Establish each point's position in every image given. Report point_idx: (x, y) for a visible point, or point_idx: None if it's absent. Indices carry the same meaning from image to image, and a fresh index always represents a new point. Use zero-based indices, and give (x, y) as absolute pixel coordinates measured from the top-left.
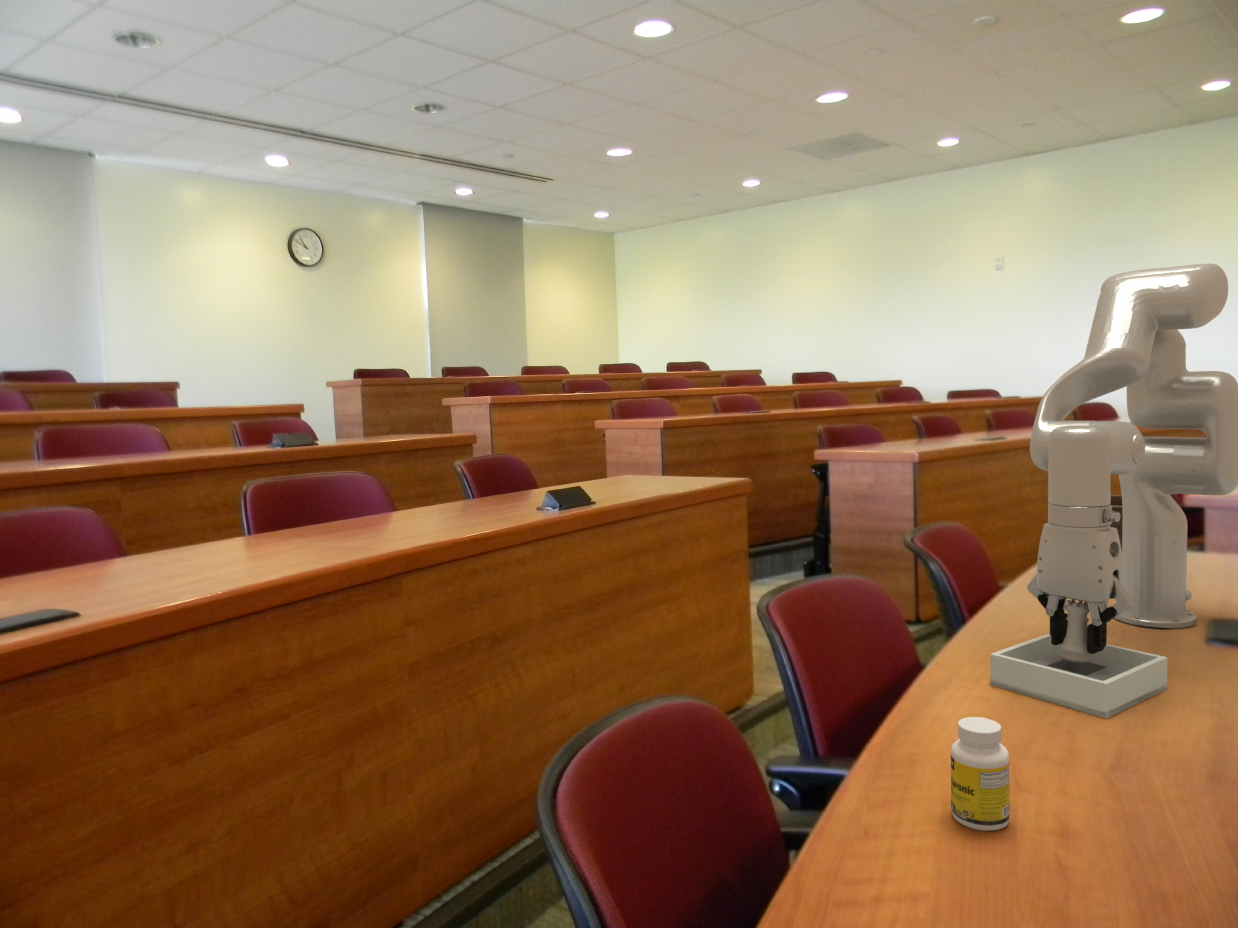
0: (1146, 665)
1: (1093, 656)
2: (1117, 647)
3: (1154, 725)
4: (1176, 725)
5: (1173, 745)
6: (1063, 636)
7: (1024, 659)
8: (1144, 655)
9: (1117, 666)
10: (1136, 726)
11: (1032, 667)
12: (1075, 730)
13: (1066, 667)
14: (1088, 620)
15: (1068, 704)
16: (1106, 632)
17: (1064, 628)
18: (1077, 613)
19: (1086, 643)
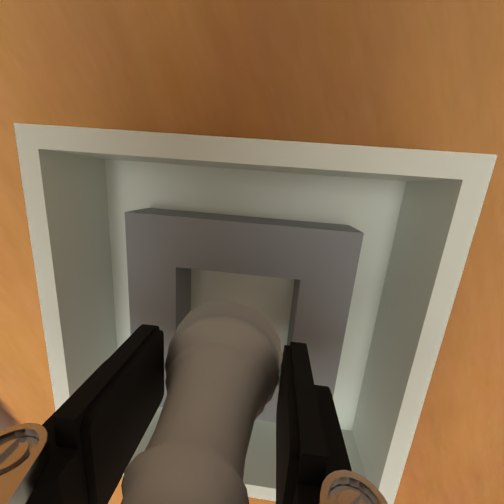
0: (444, 309)
1: (277, 350)
2: (289, 158)
3: (445, 410)
4: (484, 386)
5: (494, 474)
6: (153, 375)
7: (96, 322)
8: (401, 174)
9: (322, 257)
10: (417, 432)
11: None
12: None
13: (186, 268)
14: (246, 497)
15: None
16: (341, 435)
17: (134, 393)
18: None
19: (260, 408)
